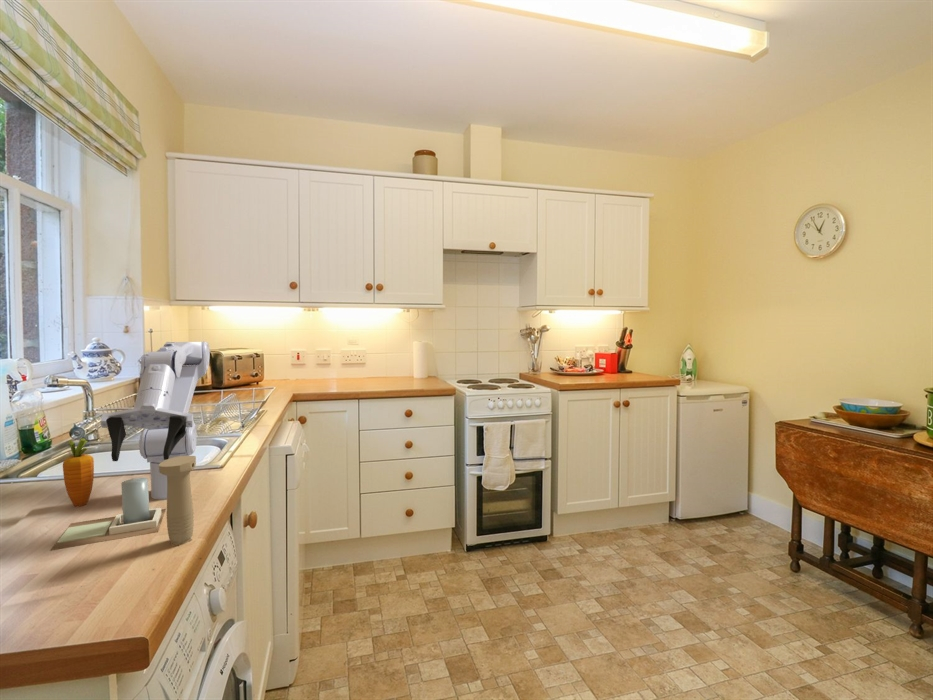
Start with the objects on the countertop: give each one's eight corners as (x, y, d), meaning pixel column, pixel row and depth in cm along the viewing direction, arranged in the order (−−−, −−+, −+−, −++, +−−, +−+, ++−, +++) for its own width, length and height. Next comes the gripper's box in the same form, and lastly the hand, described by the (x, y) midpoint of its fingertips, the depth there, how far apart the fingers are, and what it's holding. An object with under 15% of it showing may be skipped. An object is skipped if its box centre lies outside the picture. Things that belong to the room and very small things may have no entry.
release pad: (68, 528, 87) (68, 527, 87) (112, 521, 90) (112, 520, 90) (57, 543, 81) (57, 542, 81) (104, 535, 84) (104, 534, 84)
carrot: (63, 510, 98) (59, 438, 98) (93, 503, 102) (89, 434, 101) (67, 517, 95) (63, 442, 94) (98, 509, 99) (94, 438, 98)
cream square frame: (117, 520, 90) (117, 514, 90) (161, 513, 93) (161, 507, 93) (109, 534, 84) (109, 528, 84) (156, 527, 87) (156, 520, 87)
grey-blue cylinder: (125, 521, 89) (123, 479, 89) (151, 517, 91) (149, 476, 91) (121, 530, 86) (119, 486, 85) (148, 525, 88) (146, 482, 87)
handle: (204, 538, 85) (201, 455, 84) (187, 555, 79) (183, 466, 78) (176, 539, 84) (172, 456, 84) (156, 557, 78) (152, 467, 77)
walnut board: (71, 529, 89) (71, 523, 89) (166, 514, 96) (165, 508, 96) (50, 557, 78) (49, 550, 78) (158, 538, 85) (158, 531, 85)
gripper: (106, 384, 89) (86, 445, 80) (195, 386, 95) (186, 443, 86) (111, 408, 93) (93, 468, 84) (196, 408, 99) (187, 465, 90)
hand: (140, 457), depth 85 cm, fingers open, 7 cm apart
